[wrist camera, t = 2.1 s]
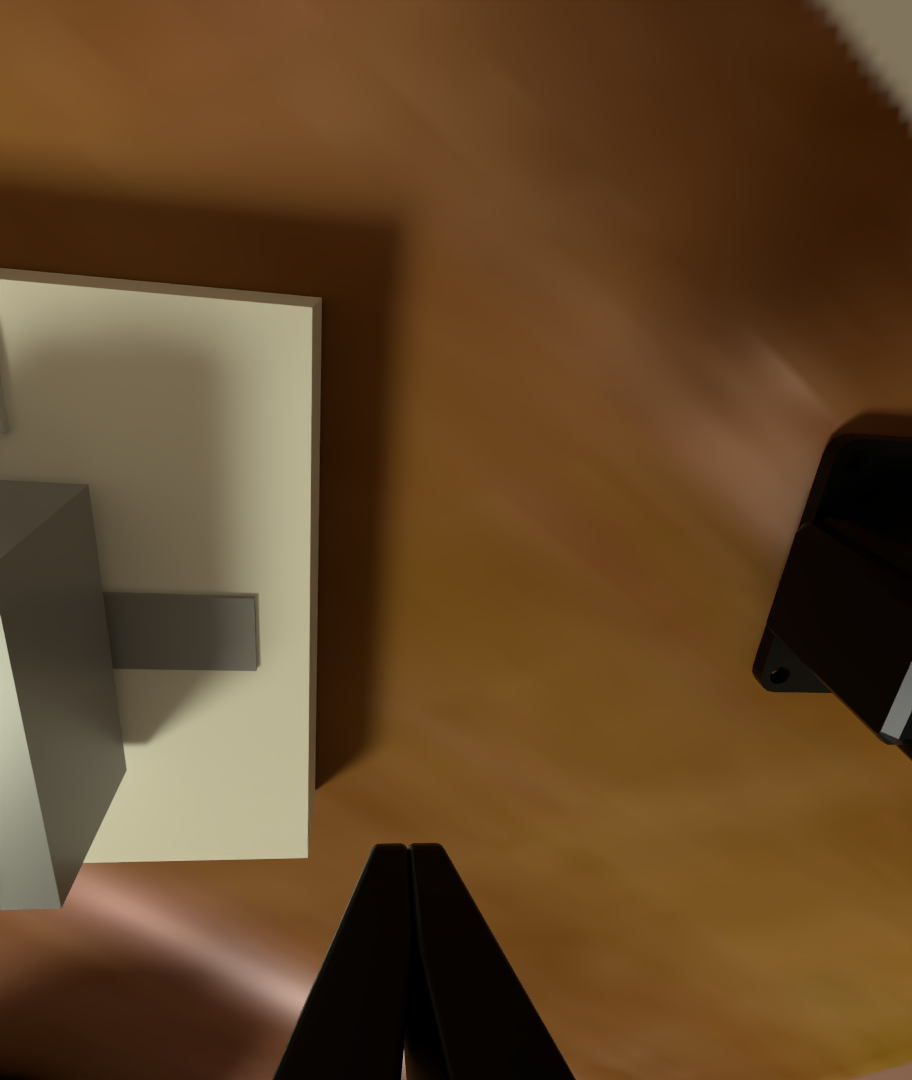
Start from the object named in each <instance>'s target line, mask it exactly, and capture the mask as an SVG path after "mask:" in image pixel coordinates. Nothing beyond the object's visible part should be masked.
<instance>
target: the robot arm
mask: <svg viewBox="0 0 912 1080" xmlns="http://www.w3.org/2000/svg"><path fill="white" fill-rule="evenodd" d="M853 451H855V455H854V458H853V460H852V461H851V462H850V463H849V464H848V465H846V466H844V461H845V459H846V457H847V456H848V454H850V453H851V452H853ZM779 667H780V668H779ZM777 668H779V670H778V671H776V672H775V673H773V674H772V672H773V671H774V670H775V669H777ZM752 673H753V675H754V677H755V679H756V680H757V681H758V682H759V683H760V684H761V686H762V687H763V688H765V689H766V690H767V691H772V692H810V693H833V694H834V695H835V696H836V697H837V698H838V699H839V700H840V701H841V702H842V703H843V704H844V705H845V706H846V707H847V708H848V709H849V710H850V711H851V712H852V713H853V714H854V715H855V716H856V717H857V718H858V719H860V720H861V721H862V722H863V723H864V724H865V725H866V726H867V727H868V728H869V729H870V730H871V731H872V732H873V733H874V734H875V735H876V736H877V737H878V738H879V739H880V740H881V741H882V742H884V743H885V744H887V745H896V746H897V747H898V748H899V749H900V750H901V751H902V752H903V753H904V754H905V755H906V756H907V757H909V758H910V759H911V760H912V438H907V437H893V436H880V435H866V434H852V433H851V434H843V435H841V436H839V437H837V438H835V439H834V440H833V441H832V442H831V443H830V444H829V445H828V446H827V447H826V449H825V451H824V453H823V455H822V458H821V461H820V464H819V467H818V470H817V473H816V476H815V479H814V482H813V485H812V488H811V491H810V494H809V497H808V500H807V503H806V506H805V509H804V513H803V516H802V519H801V522H800V525H799V528H798V531H797V532H796V535H795V538H794V541H793V544H792V547H791V550H790V553H789V556H788V559H787V562H786V565H785V568H784V571H783V574H782V577H781V580H780V583H779V586H778V589H777V592H776V595H775V598H774V601H773V604H772V607H771V610H770V613H769V616H768V619H767V625H766V628H765V631H764V634H763V637H762V640H761V643H760V646H759V649H758V652H757V655H756V658H755V661H754V664H753V670H752ZM403 1052H404V1054H405V1066H406V1077H407V1080H576V1079H575V1077H574V1076H573V1074H572V1072H571V1070H570V1069H569V1067H568V1065H567V1063H566V1062H565V1060H564V1058H563V1056H562V1055H561V1053H560V1051H559V1049H558V1048H557V1046H556V1044H555V1042H554V1041H553V1039H552V1037H551V1035H550V1033H549V1032H548V1030H547V1028H546V1026H545V1025H544V1023H543V1021H542V1019H541V1018H540V1016H539V1014H538V1012H537V1011H536V1009H535V1007H534V1005H533V1004H532V1002H531V1000H530V998H529V997H528V995H527V993H526V991H525V990H524V988H523V986H522V984H521V983H520V981H519V979H518V977H517V976H516V974H515V972H514V970H513V969H512V967H511V965H510V963H509V961H508V960H507V958H506V956H505V954H504V953H503V951H502V949H501V947H500V946H499V944H498V942H497V940H496V939H495V937H494V935H493V933H492V932H491V930H490V928H489V926H488V925H487V923H486V921H485V919H484V918H483V916H482V914H481V912H480V911H479V909H478V907H477V905H476V904H475V902H474V900H473V898H472V897H471V895H470V893H469V891H468V890H467V888H466V886H465V884H464V882H463V881H462V879H461V877H460V875H459V874H458V872H457V870H456V868H455V867H454V865H453V863H452V861H451V860H450V858H449V856H448V854H447V853H446V851H445V849H444V848H443V847H442V845H440V844H438V843H413V844H411V845H409V847H408V849H407V847H406V845H404V844H401V843H391V844H376V845H375V846H374V847H373V848H372V850H371V852H370V854H369V856H368V858H367V861H366V863H365V865H364V868H363V870H362V872H361V875H360V877H359V879H358V882H357V884H356V886H355V889H354V891H353V893H352V895H351V898H350V900H349V902H348V905H347V907H346V909H345V912H344V914H343V916H342V919H341V921H340V923H339V925H338V928H337V930H336V932H335V935H334V937H333V939H332V942H331V944H330V946H329V949H328V951H327V953H326V956H325V958H324V960H323V962H322V965H321V967H320V969H319V972H318V974H317V976H316V979H315V981H314V983H313V986H312V988H311V990H310V993H309V995H308V997H307V999H306V1002H305V1004H304V1006H303V1009H302V1011H301V1013H300V1016H299V1018H298V1020H297V1023H296V1025H295V1027H294V1030H293V1032H292V1034H291V1036H290V1039H289V1041H288V1043H287V1046H286V1048H285V1050H284V1053H283V1055H282V1057H281V1060H280V1062H279V1064H278V1066H277V1069H276V1071H275V1073H274V1076H273V1078H272V1080H401V1073H402V1062H403Z"/></svg>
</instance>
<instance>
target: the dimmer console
mask: <svg viewBox="0 0 912 1080" xmlns="http://www.w3.org/2000/svg"><path fill="white" fill-rule="evenodd" d="M321 332H322V298H321V297H310V296H299V295H288V294H277V293H267V292H256V291H245V290H234V289H223V288H213V287H202V286H191V285H180V284H169V283H159V282H148V281H137V280H126V279H115V278H104V277H94V276H83V275H72V274H61V273H50V272H40V271H29V270H18V269H7V268H0V480H11V481H30V482H50V483H69V484H88V485H89V493H90V500H91V508H92V515H93V522H94V530H95V537H96V545H97V552H98V560H99V567H100V575H101V582H102V590H103V597H104V604H105V612H106V619H107V627H108V634H109V642H110V649H111V657H112V664H113V672H114V679H115V687H116V694H117V701H118V709H119V716H120V724H121V731H122V739H123V746H124V754H125V761H126V769H127V771H126V773H125V775H124V777H123V779H122V781H121V783H120V785H119V788H118V790H117V792H116V794H115V796H114V798H113V800H112V802H111V804H110V807H109V809H108V811H107V813H106V815H105V817H104V819H103V821H102V823H101V826H100V828H99V830H98V832H97V834H96V836H95V838H94V840H93V842H92V845H91V847H90V849H89V851H88V853H87V855H86V857H85V859H84V861H83V863H98V862H142V861H187V860H232V859H277V858H308V850H309V842H310V833H311V824H312V815H313V806H314V797H315V762H316V690H317V618H318V547H319V475H320V404H321Z"/></svg>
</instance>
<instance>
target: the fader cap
mask: <svg viewBox="0 0 912 1080" xmlns="http://www.w3.org/2000/svg"><path fill="white" fill-rule="evenodd" d="M126 771H127V769H126V761H125V754H124V746H123V739H122V731H121V724H120V716H119V709H118V701H117V694H116V687H115V679H114V672H113V664H112V657H111V649H110V642H109V634H108V627H107V619H106V612H105V604H104V597H103V590H102V582H101V575H100V567H99V560H98V552H97V545H96V537H95V530H94V522H93V515H92V508H91V500H90V493H89V485H88V484H69V483H50V482H30V481H11V480H0V910H26V909H58V908H62V906H63V904H64V902H65V899H66V897H67V895H68V893H69V891H70V889H71V887H72V885H73V883H74V880H75V878H76V876H77V874H78V872H79V870H80V868H81V866H82V864H83V861H84V859H85V857H86V855H87V853H88V851H89V849H90V847H91V845H92V842H93V840H94V838H95V836H96V834H97V832H98V830H99V828H100V826H101V823H102V821H103V819H104V817H105V815H106V813H107V811H108V809H109V807H110V804H111V802H112V800H113V798H114V796H115V794H116V792H117V790H118V788H119V785H120V783H121V781H122V779H123V777H124V775H125V773H126Z"/></svg>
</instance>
